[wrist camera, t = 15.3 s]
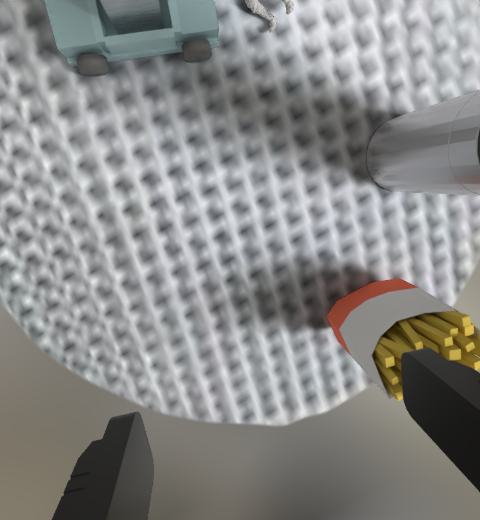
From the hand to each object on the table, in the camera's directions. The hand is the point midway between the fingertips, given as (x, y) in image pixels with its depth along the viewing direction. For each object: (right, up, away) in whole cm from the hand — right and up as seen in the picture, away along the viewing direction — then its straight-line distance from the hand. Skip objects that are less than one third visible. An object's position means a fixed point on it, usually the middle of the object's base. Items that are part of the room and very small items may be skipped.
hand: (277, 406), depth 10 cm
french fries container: (+16, -2, +37) cm, 40 cm away
